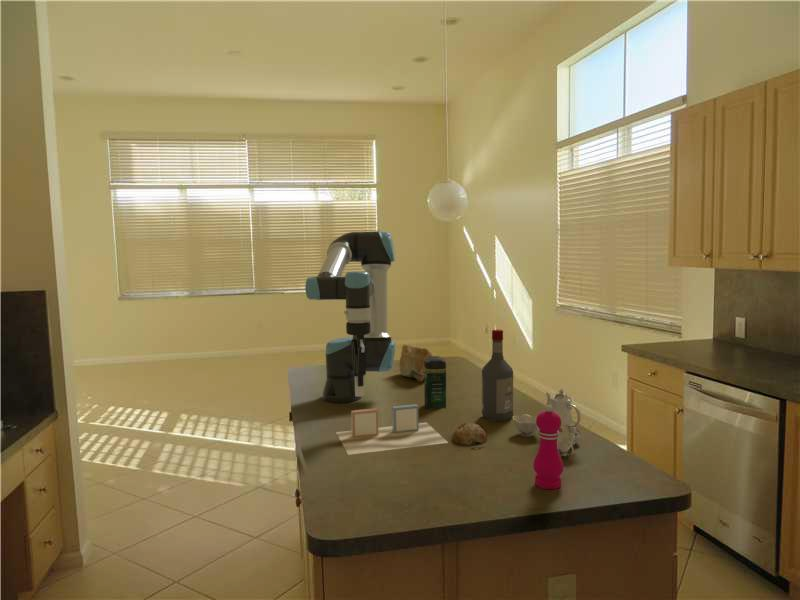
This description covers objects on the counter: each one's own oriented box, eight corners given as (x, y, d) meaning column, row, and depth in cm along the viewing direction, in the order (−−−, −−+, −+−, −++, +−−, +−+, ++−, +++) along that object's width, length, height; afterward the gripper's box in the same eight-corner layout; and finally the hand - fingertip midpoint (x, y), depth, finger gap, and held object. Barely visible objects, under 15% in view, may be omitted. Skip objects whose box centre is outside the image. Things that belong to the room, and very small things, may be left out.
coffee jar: (448, 410, 204) (447, 359, 202) (426, 411, 203) (425, 360, 201) (444, 403, 213) (444, 354, 212) (423, 403, 213) (422, 354, 211)
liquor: (516, 416, 196) (516, 330, 193) (501, 423, 189) (501, 333, 186) (493, 411, 202) (493, 327, 199) (478, 417, 195) (478, 330, 192)
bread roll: (460, 461, 167) (467, 441, 163) (443, 437, 174) (449, 417, 171) (488, 455, 171) (495, 435, 167) (470, 431, 179) (477, 412, 175)
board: (335, 436, 179) (335, 432, 179) (426, 425, 187) (426, 422, 187) (348, 458, 160) (348, 454, 160) (448, 446, 168) (448, 442, 168)
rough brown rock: (450, 384, 245) (452, 349, 244) (414, 384, 239) (416, 349, 239) (429, 374, 267) (431, 342, 266) (396, 374, 261) (397, 342, 260)
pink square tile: (351, 436, 175) (350, 410, 175) (376, 433, 178) (376, 408, 177) (353, 438, 173) (352, 412, 172) (378, 435, 175) (378, 410, 175)
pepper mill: (529, 478, 145) (529, 401, 143) (557, 477, 146) (558, 400, 144) (538, 490, 138) (539, 410, 136) (567, 489, 138) (568, 408, 136)
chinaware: (503, 437, 180) (499, 387, 178) (546, 424, 186) (542, 375, 184) (561, 469, 155) (556, 410, 152) (609, 453, 161) (605, 397, 158)
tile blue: (392, 431, 179) (391, 406, 178) (416, 428, 181) (416, 404, 180) (394, 433, 177) (393, 408, 176) (418, 430, 179) (418, 406, 178)
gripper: (342, 319, 183) (344, 391, 185) (350, 324, 170) (352, 401, 172) (365, 318, 185) (366, 389, 187) (374, 323, 172) (376, 399, 175)
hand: (359, 395), depth 180 cm, fingers closed
